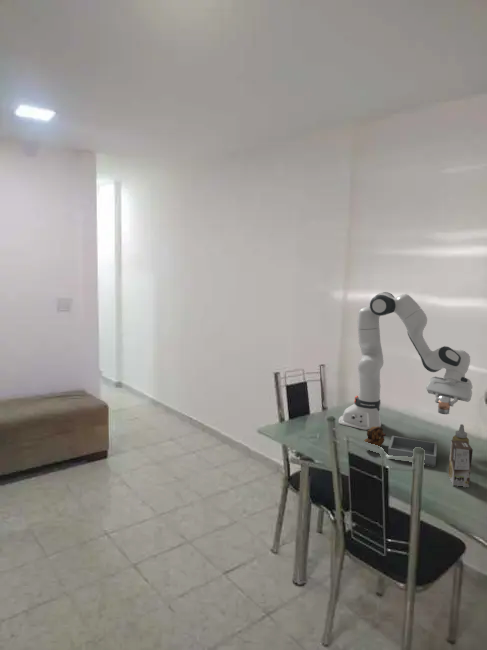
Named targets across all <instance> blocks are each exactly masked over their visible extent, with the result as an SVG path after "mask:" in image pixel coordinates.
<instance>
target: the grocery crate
mask: <svg viewBox="0 0 487 650" xmlns="http://www.w3.org/2000/svg"><path fill="white" fill-rule="evenodd" d="M437 444H438V442H434V441H427V440H423V439H422V440H421V439H420V440H419V439H416V438H415V439H414V438H409V437H403V436H396V435H391V438H390V441H389V444H388V451H387V455H388V454H389V455H393V456H408V457H412V456H413V449H414V448H415V447H421V448H423V449H424V450H425V460H424V463H425V465H429V466H428V467H431V466H434V467H433V468H436V463H437V462H436V461H437V448H438V445H437ZM397 461H398V462H405V463H410V464H413V463H412V462H409V461H401V460H397ZM425 465H424V466H425Z"/></svg>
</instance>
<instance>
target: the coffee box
mask: <svg viewBox="0 0 487 650" xmlns="http://www.w3.org/2000/svg"><path fill="white" fill-rule="evenodd" d="M473 451H474V449H473V448H472V446H471V445H470V443H469V444H468V442H467V441H454V440H452V439H451V440H450V449H449V454H450V455H449V458H448V472H447V474H448V475H447V476H449V477H448V479H449V478H450V479H449V480H451V481H450V482H452V483H451V485H452V484H453V485H458V486H463V487H462V488H466V487H470V483H471V482H470V480H471V470H472V461H473ZM453 485H452V486H453ZM458 486H457V487H458Z"/></svg>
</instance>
